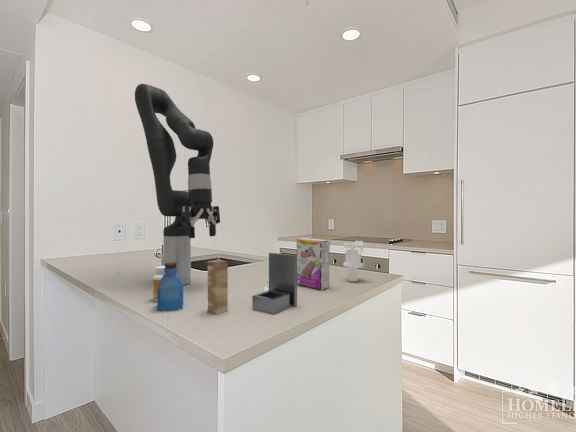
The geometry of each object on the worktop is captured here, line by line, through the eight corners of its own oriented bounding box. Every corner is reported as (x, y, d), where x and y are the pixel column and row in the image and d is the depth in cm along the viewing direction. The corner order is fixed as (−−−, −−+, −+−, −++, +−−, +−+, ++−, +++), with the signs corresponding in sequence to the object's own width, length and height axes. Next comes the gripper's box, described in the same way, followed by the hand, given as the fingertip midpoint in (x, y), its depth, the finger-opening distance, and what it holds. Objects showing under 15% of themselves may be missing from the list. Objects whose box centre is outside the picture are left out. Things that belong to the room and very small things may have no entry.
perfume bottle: (157, 311, 83) (157, 265, 82) (160, 304, 89) (159, 262, 88) (182, 309, 84) (182, 264, 84) (183, 303, 90) (183, 261, 90)
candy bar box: (295, 285, 112) (295, 238, 111) (304, 282, 115) (305, 237, 115) (321, 290, 104) (321, 240, 103) (330, 288, 107) (330, 239, 107)
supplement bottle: (165, 302, 90) (165, 268, 90) (149, 301, 92) (149, 268, 91) (176, 297, 96) (176, 265, 95) (160, 296, 97) (160, 264, 97)
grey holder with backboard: (249, 308, 85) (249, 256, 85) (271, 300, 93) (271, 252, 93) (276, 314, 80) (276, 259, 80) (297, 305, 88) (297, 255, 88)
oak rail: (207, 311, 83) (207, 261, 82) (218, 307, 86) (217, 259, 85) (217, 314, 81) (217, 263, 80) (227, 310, 84) (227, 261, 83)
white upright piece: (362, 283, 114) (362, 242, 113) (342, 282, 115) (343, 241, 115) (362, 279, 121) (362, 240, 120) (343, 278, 122) (344, 239, 122)
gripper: (209, 190, 114) (211, 235, 114) (174, 188, 103) (177, 239, 102) (223, 188, 110) (226, 235, 110) (189, 186, 98) (192, 238, 98)
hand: (202, 237), depth 106 cm, fingers open, 8 cm apart
